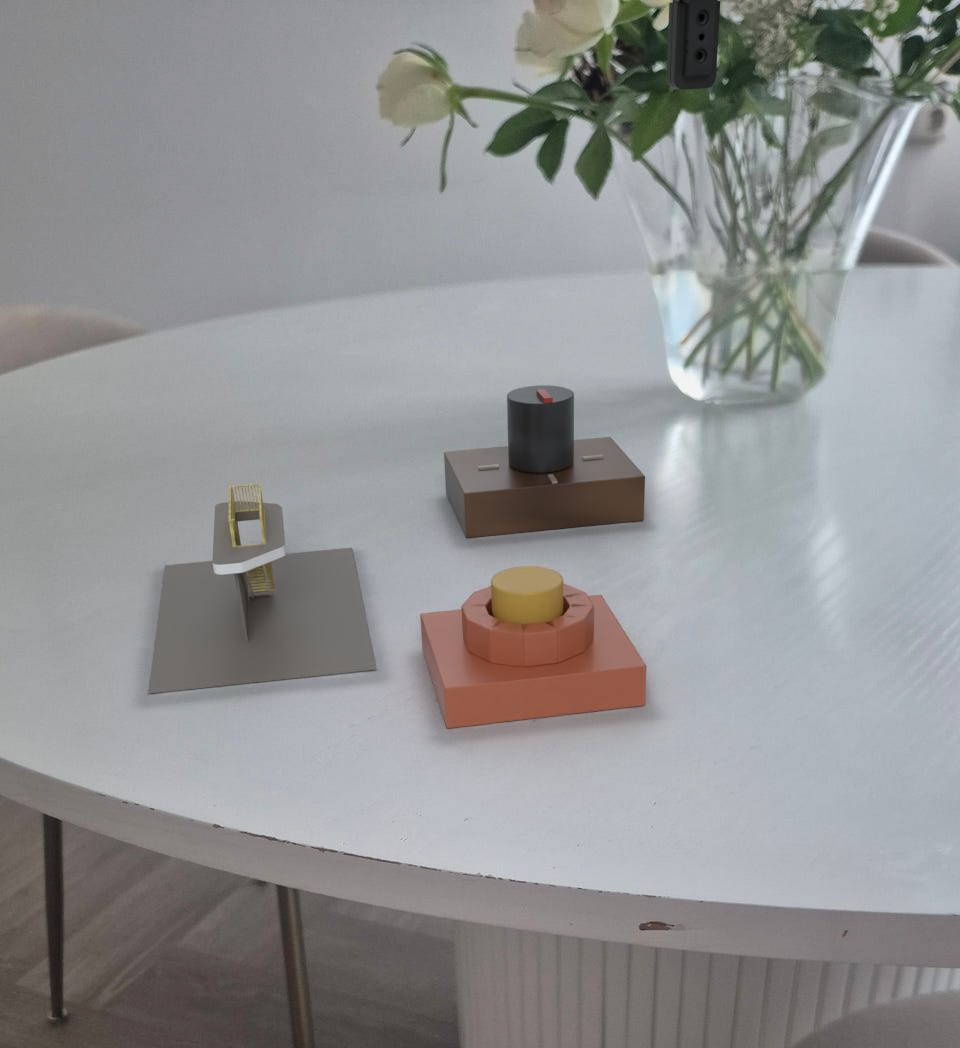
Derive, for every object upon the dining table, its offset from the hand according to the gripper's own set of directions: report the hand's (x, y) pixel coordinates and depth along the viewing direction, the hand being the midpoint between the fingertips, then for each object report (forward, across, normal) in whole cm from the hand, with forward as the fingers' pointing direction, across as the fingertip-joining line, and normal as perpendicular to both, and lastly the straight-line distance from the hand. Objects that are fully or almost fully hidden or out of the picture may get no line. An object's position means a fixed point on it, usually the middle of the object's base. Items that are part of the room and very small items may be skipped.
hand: (690, 87), depth 65 cm
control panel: (+25, +10, +6) cm, 28 cm away
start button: (+21, -15, +12) cm, 29 cm away
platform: (+25, -3, +26) cm, 36 cm away
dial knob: (+22, +10, +6) cm, 25 cm away
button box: (+25, -15, +12) cm, 32 cm away
